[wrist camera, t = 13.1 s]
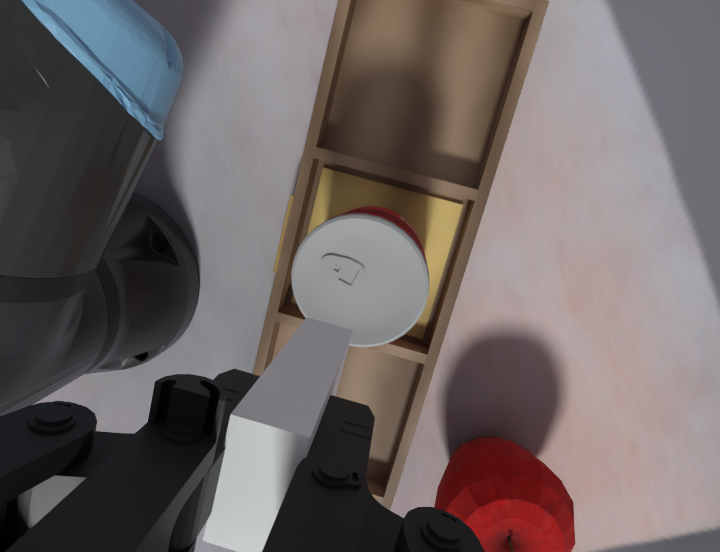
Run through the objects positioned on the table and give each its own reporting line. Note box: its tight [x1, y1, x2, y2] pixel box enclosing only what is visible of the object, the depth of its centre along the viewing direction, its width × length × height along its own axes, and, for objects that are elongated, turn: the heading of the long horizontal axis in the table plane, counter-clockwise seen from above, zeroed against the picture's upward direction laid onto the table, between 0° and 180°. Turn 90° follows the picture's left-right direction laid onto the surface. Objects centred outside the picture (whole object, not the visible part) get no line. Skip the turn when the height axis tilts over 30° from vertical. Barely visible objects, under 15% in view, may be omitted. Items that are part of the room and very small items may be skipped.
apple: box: [434, 437, 575, 552], centre depth 36 cm, size 10×10×11 cm
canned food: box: [291, 206, 429, 347], centre depth 33 cm, size 8×8×11 cm
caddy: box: [253, 0, 549, 509], centre depth 38 cm, size 14×39×3 cm, turn 165°
